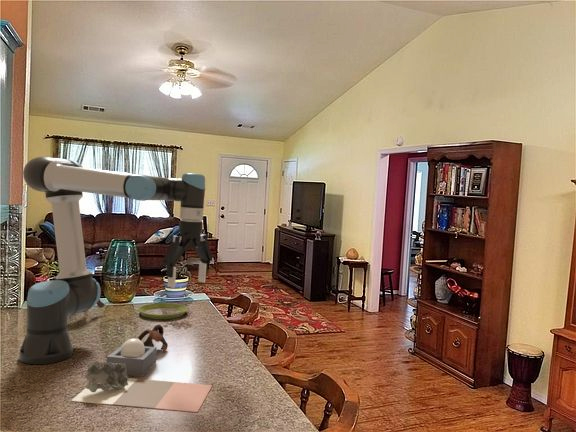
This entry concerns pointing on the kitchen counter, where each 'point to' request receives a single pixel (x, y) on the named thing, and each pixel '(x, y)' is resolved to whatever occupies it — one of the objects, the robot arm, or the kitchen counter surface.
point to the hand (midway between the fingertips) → (186, 284)
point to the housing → (135, 361)
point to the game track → (150, 395)
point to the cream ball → (133, 348)
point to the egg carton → (106, 376)
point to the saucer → (162, 305)
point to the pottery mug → (154, 337)
